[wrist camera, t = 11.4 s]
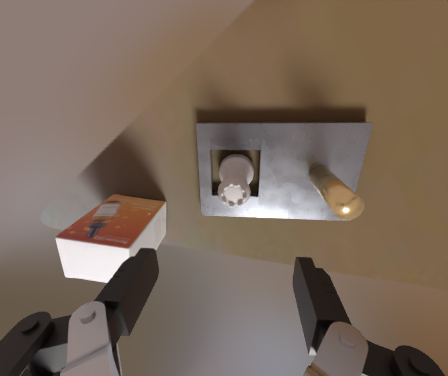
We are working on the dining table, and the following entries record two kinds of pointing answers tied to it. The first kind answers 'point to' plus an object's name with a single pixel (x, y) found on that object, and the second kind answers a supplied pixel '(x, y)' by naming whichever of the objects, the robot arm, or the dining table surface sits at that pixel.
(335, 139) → the bolt plate
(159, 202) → the small box
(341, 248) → the dining table surface
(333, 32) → the dining table surface
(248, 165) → the rook chess piece
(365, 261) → the dining table surface
